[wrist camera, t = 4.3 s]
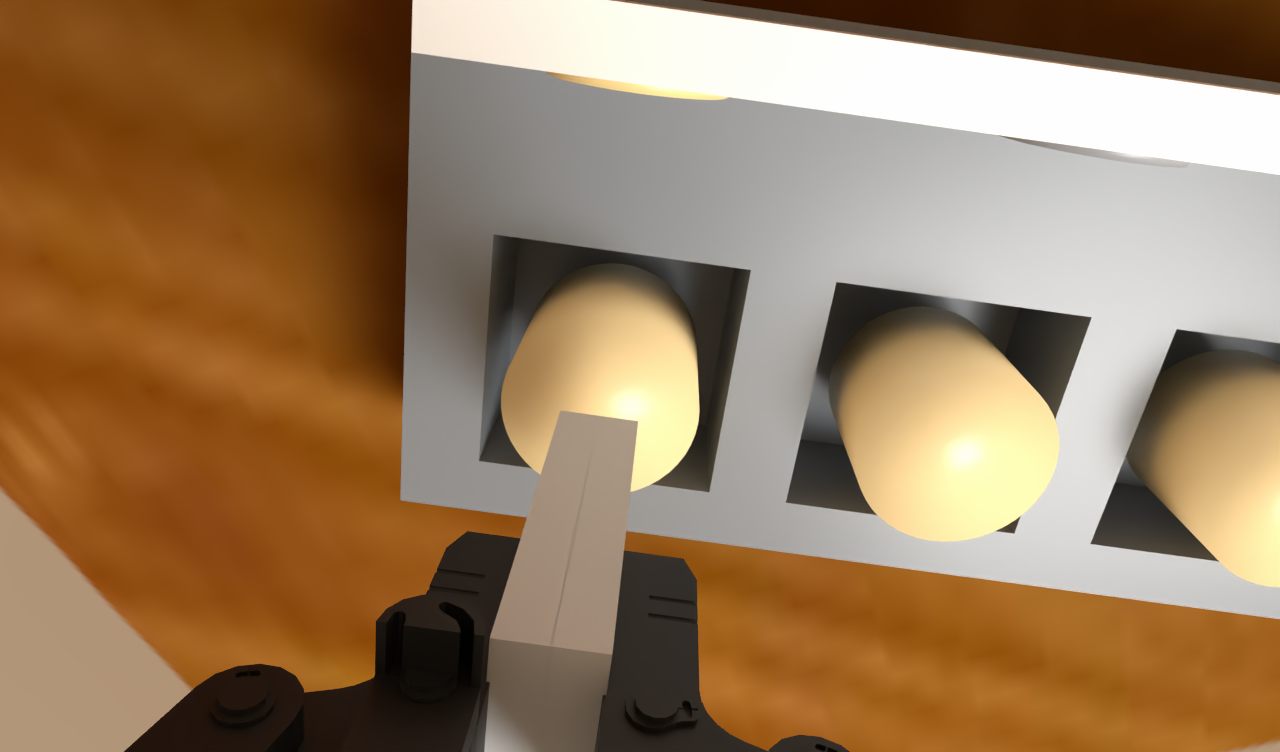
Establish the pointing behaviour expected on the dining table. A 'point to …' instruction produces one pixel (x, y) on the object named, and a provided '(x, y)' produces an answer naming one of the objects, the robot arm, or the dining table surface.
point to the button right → (1218, 456)
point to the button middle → (940, 425)
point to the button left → (607, 366)
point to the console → (836, 257)
